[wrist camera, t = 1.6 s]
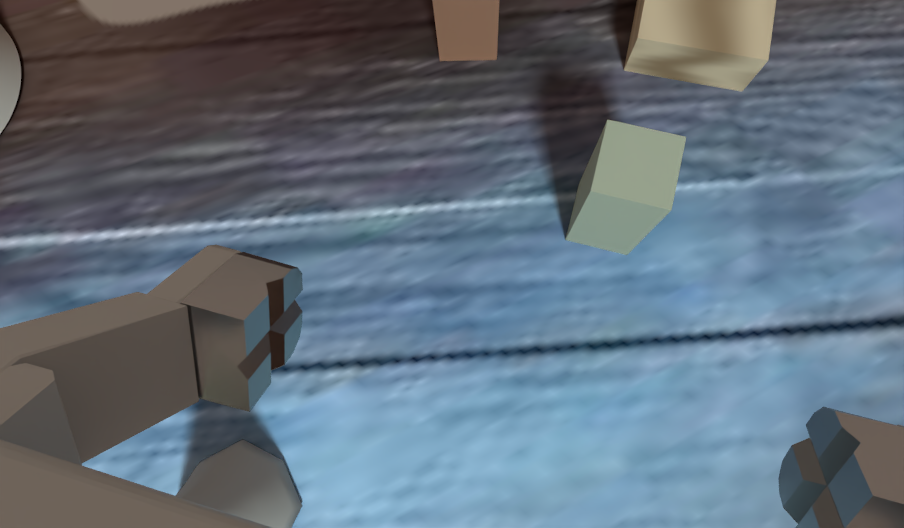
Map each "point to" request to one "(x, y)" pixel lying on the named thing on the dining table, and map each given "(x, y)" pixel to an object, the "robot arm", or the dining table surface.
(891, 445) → the robot arm
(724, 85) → the beech block
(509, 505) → the dining table surface
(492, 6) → the terracotta block
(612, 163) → the sage block
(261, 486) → the flask
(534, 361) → the dining table surface
